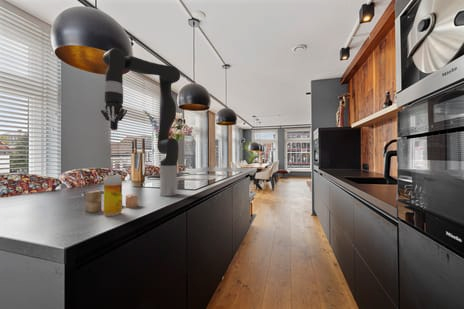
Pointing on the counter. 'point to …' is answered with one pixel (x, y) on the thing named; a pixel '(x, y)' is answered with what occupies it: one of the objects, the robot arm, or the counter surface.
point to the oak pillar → (93, 201)
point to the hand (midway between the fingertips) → (113, 129)
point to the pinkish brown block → (131, 201)
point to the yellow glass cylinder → (112, 195)
